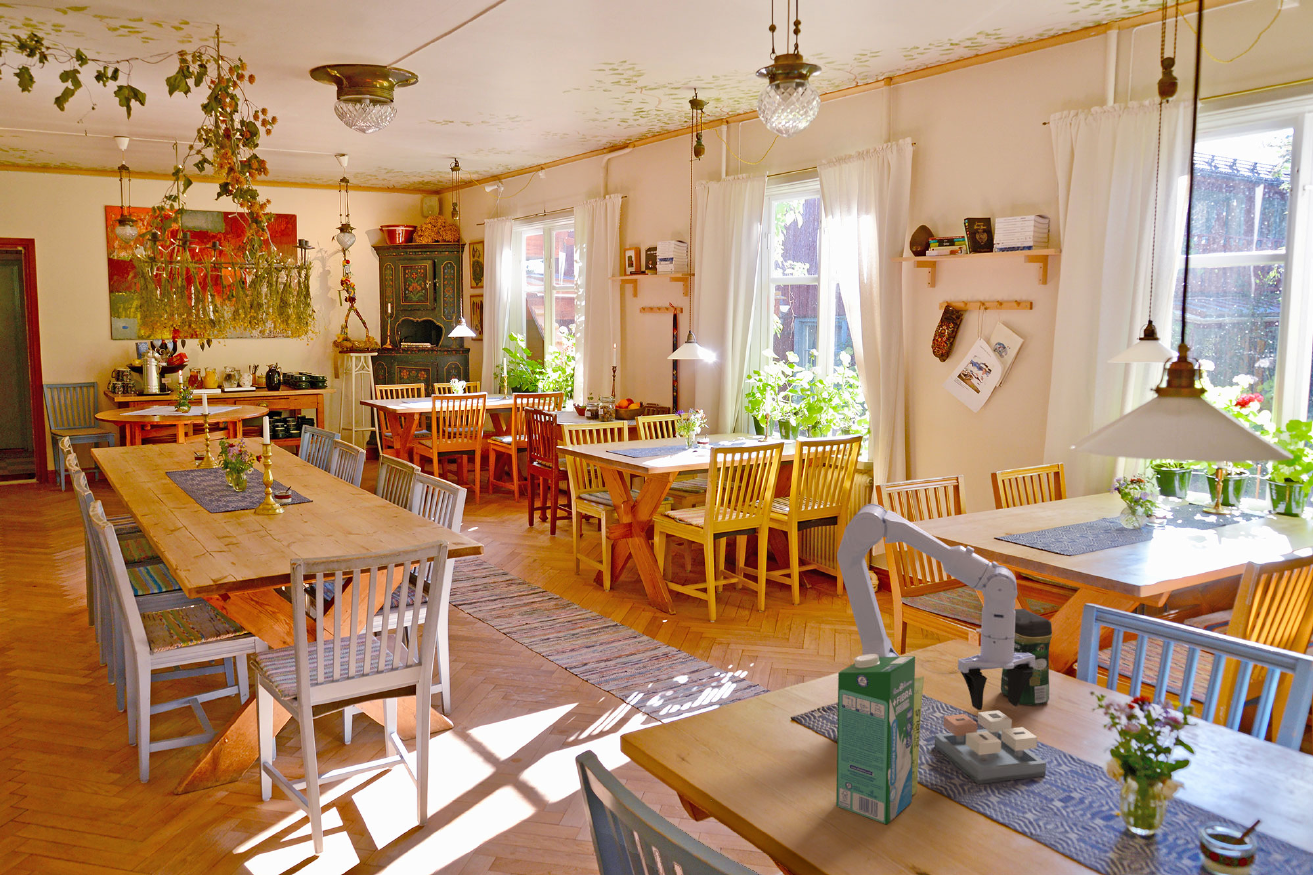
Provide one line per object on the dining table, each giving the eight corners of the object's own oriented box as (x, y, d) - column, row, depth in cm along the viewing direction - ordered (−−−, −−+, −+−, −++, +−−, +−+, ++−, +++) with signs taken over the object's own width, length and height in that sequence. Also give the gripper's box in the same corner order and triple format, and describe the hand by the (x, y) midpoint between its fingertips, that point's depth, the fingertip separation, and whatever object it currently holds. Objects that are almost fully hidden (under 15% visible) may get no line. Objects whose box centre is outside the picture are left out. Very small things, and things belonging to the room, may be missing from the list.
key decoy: (955, 746, 164) (956, 724, 164) (943, 736, 168) (943, 715, 168) (976, 744, 165) (977, 722, 165) (963, 734, 169) (964, 713, 169)
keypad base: (977, 784, 156) (978, 770, 155) (934, 746, 170) (934, 734, 169) (1045, 775, 158) (1045, 762, 158) (997, 739, 172) (997, 727, 172)
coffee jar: (993, 691, 196) (996, 607, 194) (1025, 687, 198) (1029, 604, 196) (1022, 709, 186) (1026, 621, 184) (1055, 704, 188) (1059, 617, 186)
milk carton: (861, 785, 156) (864, 643, 153) (911, 802, 150) (915, 655, 147) (835, 806, 149) (838, 658, 146) (886, 825, 143) (890, 671, 140)
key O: (990, 742, 166) (991, 721, 165) (977, 733, 170) (978, 711, 169) (1010, 740, 166) (1011, 719, 166) (997, 730, 171) (998, 709, 170)
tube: (912, 801, 150) (916, 687, 148) (881, 794, 152) (884, 682, 150) (920, 786, 155) (924, 676, 153) (890, 779, 157) (893, 670, 155)
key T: (1014, 761, 158) (1015, 739, 158) (1000, 750, 162) (1001, 728, 162) (1036, 759, 159) (1037, 736, 159) (1021, 748, 163) (1022, 726, 163)
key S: (978, 765, 157) (979, 743, 156) (965, 755, 161) (966, 732, 160) (1000, 763, 158) (1001, 740, 157) (986, 752, 162) (987, 730, 161)
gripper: (974, 644, 160) (971, 718, 162) (1046, 638, 164) (1043, 710, 165) (952, 632, 167) (950, 703, 169) (1023, 626, 170) (1020, 695, 172)
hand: (995, 705), depth 167 cm, fingers open, 7 cm apart
